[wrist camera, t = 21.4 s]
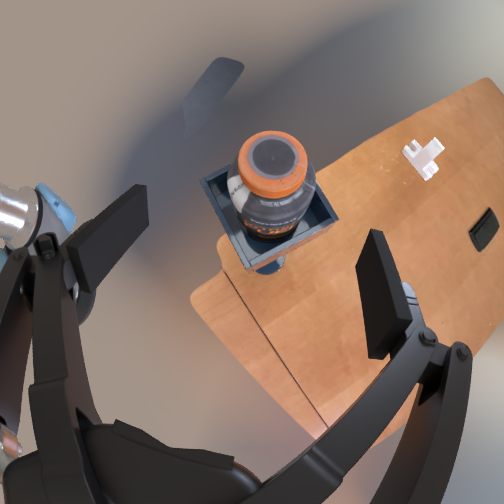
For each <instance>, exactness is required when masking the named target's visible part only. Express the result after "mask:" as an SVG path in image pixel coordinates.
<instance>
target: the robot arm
mask: <svg viewBox="0 0 504 504" xmlns="http://www.w3.org/2000/svg"><path fill="white" fill-rule="evenodd" d="M75 223H76V215H75V213H74V211H73V210H72V209H71V208H70V207H69V206H68V205H67V204H66V203H65V202H64V201H63V200H62V199H61V198H60V197H59V196H58V195H57V194H56V193H55V192H54V191H52V190H51V189H50V188H49V187H48V186H47V185H45V184H44V183H39V184H38V185H37V186H36V187H35V190H34V189H32V188H30V187H22V188H20V189H19V190H14V189H12V188H10V187H8V186H6V185H4V184H2V183H0V238H3V240H4V242H5V244H6V245H5V247H4V249H2V248H0V483H1V484H2V486H3V493H4V500H5V504H321V503H322V502H324V501H325V499H327V498H328V497H329V496H330V495H331V494H332V493H333V492H334V491H335V490H336V489H337V488H338V487H339V486H340V485H341V483H342V481H343V477H344V476H345V475H346V474H347V472H348V471H349V470H350V469H351V468H352V467H353V466H354V465H355V464H356V463H357V462H358V461H359V459H360V458H361V457H362V456H363V455H364V454H365V453H366V451H367V450H368V449H369V448H370V447H371V446H372V444H373V443H374V442H375V441H376V439H377V438H378V437H379V436H380V434H381V433H382V432H383V431H384V429H385V428H386V427H387V425H388V424H389V423H390V421H391V420H392V419H393V417H394V416H395V415H396V413H397V412H398V410H399V409H400V407H401V406H402V405H403V403H404V402H405V400H406V399H407V397H408V396H409V394H410V393H411V391H412V389H413V388H414V386H415V385H416V383H419V388H418V391H417V394H416V398H415V401H414V404H413V407H412V410H411V413H410V416H409V419H408V422H407V424H406V427H405V430H404V432H403V435H402V438H401V440H400V443H399V445H398V447H397V450H396V452H395V454H394V457H393V459H392V461H391V463H390V465H389V468H388V470H387V472H386V474H385V476H384V478H383V480H382V482H381V484H380V486H379V488H378V490H377V491H376V494H375V495H374V497H373V499H372V501H371V502H370V504H440V503H441V501H442V498H443V496H444V493H445V490H446V488H447V485H448V482H449V479H450V476H451V473H452V470H453V466H454V463H455V460H456V456H457V452H458V449H459V445H460V441H461V436H462V432H463V427H464V422H465V417H466V411H467V405H468V399H469V391H470V383H471V373H472V360H473V358H472V353H471V350H470V349H469V348H468V346H467V345H465V344H464V343H462V342H460V341H459V342H455V343H453V345H452V346H451V347H448V346H446V345H443V344H441V343H439V342H438V338H437V336H436V334H435V333H434V332H433V331H432V330H431V329H430V328H428V327H426V326H425V323H424V319H423V316H422V313H421V310H420V307H419V304H418V301H417V300H416V299H417V298H416V295H415V292H414V290H413V289H412V287H411V286H410V285H409V283H406V282H401V279H400V276H399V273H398V271H397V268H396V265H395V262H394V259H393V257H392V254H391V251H390V249H389V246H388V244H387V241H386V239H385V236H384V234H383V231H379V230H375V229H370V231H369V234H368V236H367V239H366V242H365V244H364V247H363V249H362V252H361V254H360V256H359V259H358V261H357V264H356V266H355V268H356V273H357V279H358V285H359V291H360V297H361V303H362V310H363V317H364V324H365V332H366V340H367V349H368V358H369V359H379V360H383V359H384V358H385V357H386V356H387V355H388V353H390V359H391V360H390V361H389V362H388V363H387V364H386V366H385V367H384V368H383V369H382V370H381V371H380V373H379V374H378V376H377V377H376V378H375V379H374V380H373V382H372V383H371V384H370V385H369V386H368V387H367V388H366V390H365V391H364V392H363V393H362V394H361V395H360V396H359V397H358V399H357V400H356V401H355V402H354V403H353V404H352V405H351V406H350V407H349V408H348V409H347V410H346V411H345V412H344V413H343V414H342V415H341V416H340V417H339V418H338V419H337V420H336V421H335V422H334V423H333V424H332V425H331V426H330V427H329V428H328V429H327V430H326V431H325V432H324V433H323V434H322V435H321V436H320V437H319V438H318V439H317V440H315V441H314V442H313V443H312V444H311V445H310V446H309V447H308V448H307V449H305V450H304V451H303V452H302V453H301V454H299V455H298V456H297V457H296V458H295V459H293V460H292V461H291V462H290V463H289V464H287V465H286V466H285V467H284V468H282V469H281V470H279V471H278V472H277V473H275V474H274V475H273V476H271V477H270V478H268V479H267V480H266V481H265V482H263V483H262V482H261V481H260V480H259V479H258V478H257V476H255V475H254V474H253V473H252V472H251V471H250V470H248V469H247V468H245V467H244V466H242V465H240V464H238V463H236V462H234V457H233V456H229V455H224V454H220V453H215V452H211V451H207V450H203V449H183V448H182V449H181V448H171V447H168V446H166V445H165V444H163V443H161V442H160V441H158V440H156V439H155V438H153V437H152V436H150V435H149V434H148V433H146V432H144V431H143V430H141V429H139V428H136V427H134V426H131V425H128V424H126V423H124V422H122V421H119V420H117V419H116V420H115V422H114V424H103V423H102V421H101V419H100V417H99V415H98V413H97V411H96V409H95V406H94V403H93V398H92V395H91V390H90V386H89V382H88V377H87V373H86V368H85V363H84V358H83V352H82V346H81V340H80V333H79V326H78V318H77V309H76V305H77V303H78V300H79V297H80V293H81V291H83V292H86V293H89V294H92V293H93V292H94V291H95V289H96V288H97V287H98V286H99V284H100V283H101V282H102V280H103V279H104V278H105V277H106V275H107V274H108V273H109V272H110V270H111V269H112V268H113V267H114V265H115V264H116V263H117V262H118V260H119V259H120V258H121V257H122V255H123V254H124V253H125V252H126V251H127V250H128V248H129V247H130V246H131V245H132V244H133V243H134V241H135V240H136V239H137V238H138V237H139V236H140V235H141V233H142V232H143V231H144V230H145V229H146V228H147V227H148V226H149V219H148V205H147V188H146V185H139V184H135V185H134V186H133V187H131V188H130V189H129V190H128V191H126V192H125V193H124V194H123V195H121V196H120V197H119V198H118V199H116V201H114V202H113V203H112V204H111V205H109V206H108V207H107V208H106V209H105V210H103V211H102V212H101V213H100V214H99V215H98V216H96V217H95V218H94V219H91V220H89V221H87V222H85V223H83V224H82V225H81V226H80V227H79V228H78V230H76V231H75V232H74V233H73V234H71V235H70V233H71V230H72V229H73V227H74V225H75ZM69 235H70V236H69ZM31 339H32V344H33V367H34V384H32V385H30V386H29V389H28V392H29V393H28V394H29V403H30V410H31V417H32V423H33V429H34V434H35V439H36V444H37V448H38V450H36V451H34V452H32V453H29V454H27V455H25V456H22V457H20V458H19V457H18V455H20V454H21V453H22V446H21V444H20V443H19V442H18V440H17V437H16V436H17V432H18V427H19V422H20V413H21V402H22V392H23V384H24V377H25V371H26V364H27V359H28V354H29V348H30V344H31Z"/></svg>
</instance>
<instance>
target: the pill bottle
mask: <svg viewBox="0 0 504 504" xmlns="http://www.w3.org/2000/svg"><path fill="white" fill-rule="evenodd" d="M227 184H228V190H229V193H230V197H231V200H232V203H233V206H234V209H235V212H236V215H237V218H238V222H239V224H240V226H241V228H242V229H243V231H244V232H245V233H246V234H247V235H248V236H249V237H251V238H252V239H254V240H256V241H259V242H262V243H276V242H280V241H282V240H284V239H286V238H288V237H289V236H290V235H291V234H292V233H293V232H294V231H295V230H296V228H297V227H298V225H299V223H300V221H301V219H302V217H303V216H304V214H305V212H306V210H307V208H308V206H309V205H310V203H311V200H312V198H313V196H314V192H315V188H316V176H315V171H314V168H313V166H312V164H311V162H310V160H309V159H308V157H307V155H306V152H305V150H304V148H303V147H302V145H301V144H300V143H299V141H297V140H296V139H295V138H294V137H292V136H290V135H289V134H286V133H283V132H279V131H264V132H260V133H258V134H255V135H253V136H252V137H251V138H249V139H248V140H247V141H246V142H245V143H244V144H243V146H242V148H241V150H240V152H239V153H238V154H237V155H236V156H235V158H234V159H233V161H232V163H231V165H230V167H229V170H228V174H227Z"/></svg>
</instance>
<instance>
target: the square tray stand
mask: <svg viewBox="0 0 504 504" xmlns="http://www.w3.org/2000/svg"><path fill="white" fill-rule="evenodd" d="M230 165H231V164H229V165H228V166H226V167H224V168H221V169H220V170H218V171H216V172H214V173H212V174H210V175H208V176H206V177H205V178H202V179H200V182H201V185H202V186H203V188H204V190H205V192H206V194H207V196H208V198H209V200H210V202H211V204H212V206H213V208H214V210H215V212H216V214H217V216H218V217H219V219H220V221H221V223H222V225H223V227H224V229H225V231H226V233H227V235H228V237H229V239H230V241H231V243H232V244H233V246H234V248H235V250H236V252H237V254H238V256H239V258H240V260H241V262H242V264H243V265H244V267H245V269H246V270H247V272H248V273H249V274H250V273H252V272H254V271H256V272H257V273H260V274H264V275H268V274H273V273H275V272H276V271H278V270H279V269H280V268H281V266H282V265H283V263H284V260H285V254H287V253H289V252H291V251H293V250H295V249H297V248H298V247H300V246H302V245H304V244H306V243H308V242H309V241H311V240H313V239H315V238H317V237H319V236H320V235H322V234H324V233H326V232H327V231H328V230H329V229H330V228H331V227H332V226H333V225H334V224H335V223H336V222H337V221H338V220H339V218H338V217H337V215H336V213H335V211H334V210H333V208H332V206H331V205H330V203H329V201H328V200H327V198H326V197H325V195H324V193H323V192H322V190H321V188H320V187H319V185H318V184H317V182H316V188H315V192H314V196H313V198H312V200H311V203H310V205H309V206H308V208H307V210H306V212H305V214H304V216H303V217H302V219H301V221H300V223H299V225H298V227H297V228H296V230H295V231H294V232H293V233H292V234H291V235H290V236H289V237H288V238H286V239H284V240H282V241H280V242H276V243H262V242H259V241H256V240H254V239H252V238H251V237H249V236H248V235H247V234H246V233H245V232H244V231H243V229H242V228H241V226H240V224H239V222H238V218H237V215H236V212H235V209H234V206H233V203H232V200H231V197H230V193H229V190H228V184H227V174H228V170H229V167H230Z"/></svg>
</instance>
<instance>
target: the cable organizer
mask: <svg viewBox="0 0 504 504" xmlns="http://www.w3.org/2000/svg"><path fill="white" fill-rule="evenodd" d="M408 146H409V147H410V148H411V149H412V150H413V151H412V150H411V149H410V148H409V147H408ZM444 149H445V148H444V147H443V146H442V145H441V143H440V142H439V141H438V140H437V139H436V138H434V139H432V140H431V141H430V142H429V143H428V144H427V145H426V146H425V147H424V148H422V147H421V146H420V145H419V144H418V143H417V142H416V141H415V140H413V141H411V142H410V144H409V145H407V146H405V147H404V148H403V150H402V153H403V155H404V156H405V157H406V158H407V159H408V160H409V162H410V163H411V164H412V165H413V166H414V168H415V169H416V170H417V171H418V172H419V174H420V175H421V176H422V177H423V179H424V180H425V181H427V180H428V179H430V178H431V177H432V176H433V175H432V174H434V173H436V172H437V171H438V170H439V168H438V166H437V165H436V164H435V163H434V161H433V159H434V158H435V157H436V156H437V155H438V154H440V153H441V152H442V151H443V150H444ZM430 172H431V173H432V174H431V173H430Z"/></svg>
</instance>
